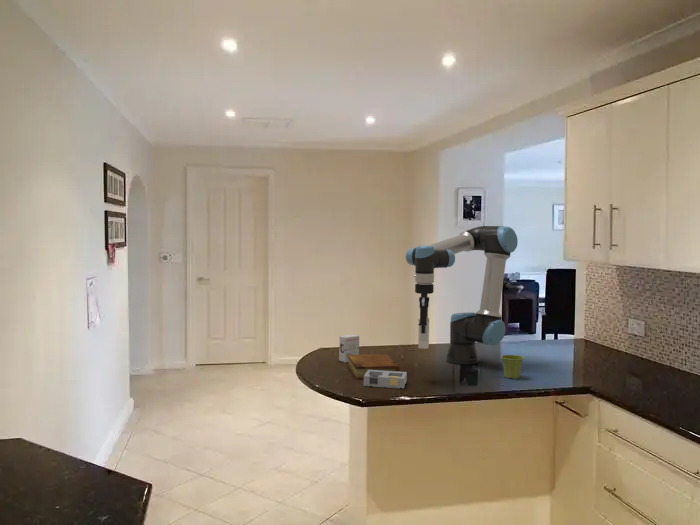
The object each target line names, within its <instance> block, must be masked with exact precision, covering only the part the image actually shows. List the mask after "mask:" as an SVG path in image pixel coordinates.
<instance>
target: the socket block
mask: <svg viewBox="0 0 700 525" xmlns="http://www.w3.org/2000/svg"><path fill="white" fill-rule="evenodd" d="M407 377H408V374H407V371H400V372H399V371H383V370H368V371H367V372H366V374H365V375H364V379H363V387H370V386H372V388H385V387H386V388H385V389H400V388H402V389H405V386H406V385H405V384H407V381H408V380H407V379H408V378H407ZM402 389H401V390H402Z"/></svg>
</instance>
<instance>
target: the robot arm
mask: <svg viewBox="0 0 700 525" xmlns="http://www.w3.org/2000/svg"><path fill="white" fill-rule="evenodd" d="M517 248H518V235H517V234H516V232H515V230H514V229H513V228H512V227H510V226H507V225H506V226H505V225H496V226H495V225H481V226H476V227H474V228H470V229H467V230H464V231H461V232H460V233H459V234H458V235H456V236H453V237H449V238H447V239H443V240H440V241H438V242H434V243H431V244H428V245H418V246H416V247H413V248H411V247H410V248H409V249H408V250H407V251H406V254H405V261H406V262H407V264H409V265H410V266H415V271H414V272H415V273H414V275H413V278H415V279H414V281H415V284H414V285H415V286H414V292H415V293H416V294H418V295H419V294H420V296H419V298H418V302H419V318H420V324H419V323H417V324H418V326H419V325H420V341H427V323H426V321H427V318H429V317H428V316H429V314H428V313H429V305H430V304H429V302H430V297H429V296H428V294H429V295H430V294H433V293H434V291H435V290H434V286H435V285H434V284H433V283H434V282H435V269H439V268H440V269H441V268H442V269H444V268H445V269H447V268H451V267H452V266H454V264H455V262H456V254H458V253H461V252H467V253H468V252H472V251H483V252H484V253H483V254H484V256H485V257H486V261H485V262H486V263H485V270H484V275H483V277H484V278H483V284H482V292H481V299H480V306H479V310H477V311H475V312H474V311H472V312H471V311H469V312H467V311H466V312H456V313H452V314H451V317H450V322H449V323H450V324H449V325H450V327H449V328H450V329H449V330H450V332H449V333H450V334H449V336H450V337H449V346H448V349H447V352H446V354H445V361H446V362H447V361H448V362H447V363H450V362H451V364H454V363H455V364H457V365H474V364H478V363H479V355H478V352H477V349H476V343H479V344H483V345H485V346H486V345H487V346H496V345H499V344H500V343H501V342H502V340H503V339H504V337H505V334H506V331H507V330H506V328H507V327H506V325H505V322H504V321H503V320H502V319H503V318H502V317H503V316H502V315H501V314H500V307H501V302H502V300H501V298H502V294H503V286H504V278H505V271H506V270H505V269H506V263H507V260H509V259H510V258H511V253H514V252H515V251H516V249H517Z"/></svg>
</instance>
